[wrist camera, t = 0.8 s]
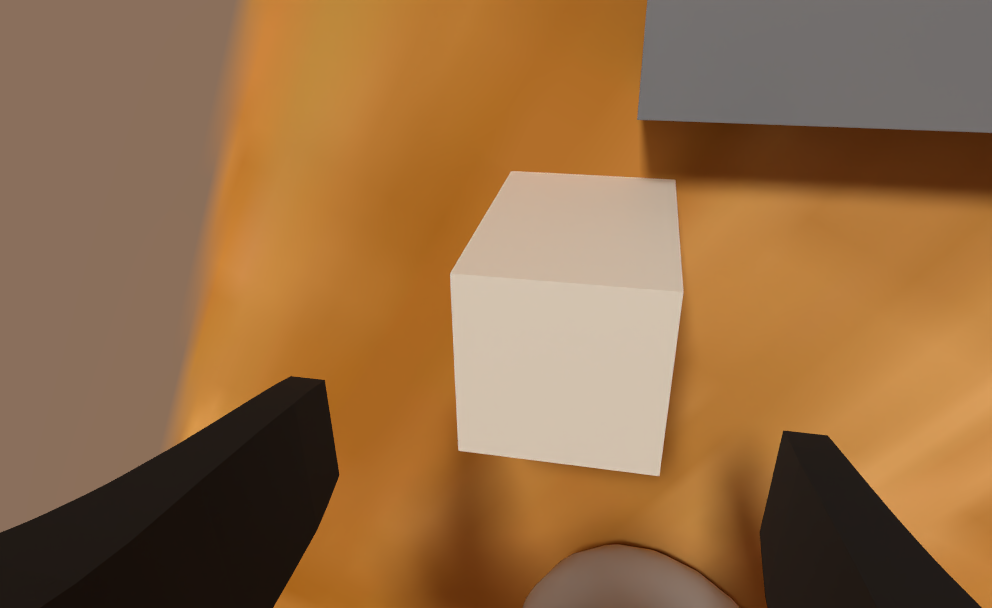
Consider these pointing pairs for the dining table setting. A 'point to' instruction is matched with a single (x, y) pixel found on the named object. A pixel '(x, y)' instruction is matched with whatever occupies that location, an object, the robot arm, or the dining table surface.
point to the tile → (820, 63)
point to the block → (569, 321)
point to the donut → (625, 582)
